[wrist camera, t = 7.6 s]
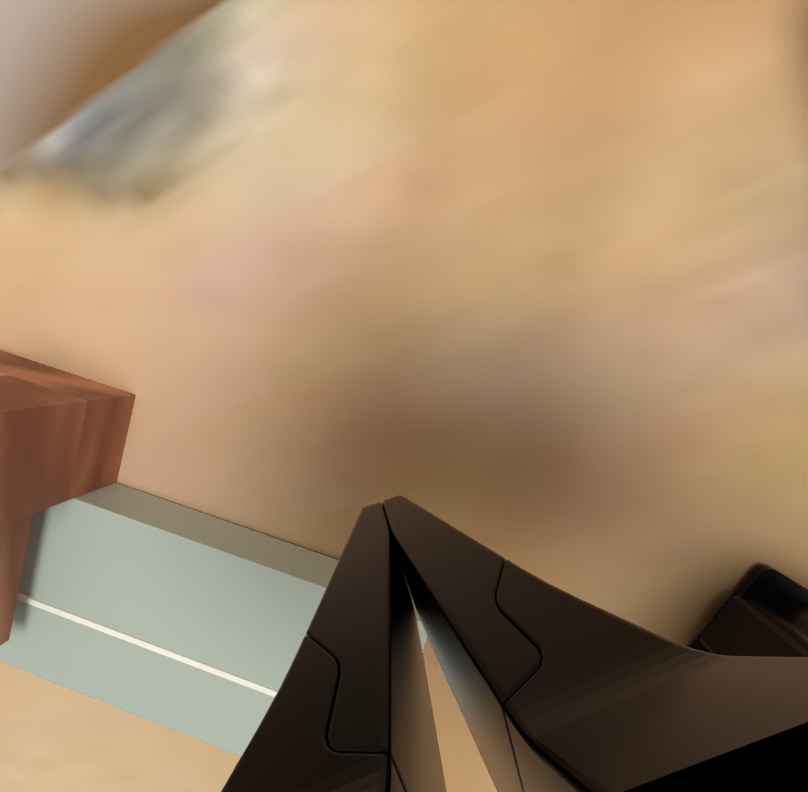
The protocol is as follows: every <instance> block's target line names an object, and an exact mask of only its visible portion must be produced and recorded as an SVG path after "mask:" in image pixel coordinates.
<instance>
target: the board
mask: <svg viewBox="0 0 808 792" xmlns="http://www.w3.org/2000/svg"><path fill="white" fill-rule="evenodd" d="M338 561H339V560H337V559H334V558H331V557H328V556H325V555H322V554H319V553H317V552H314V551H311V550H308V549H305V548H302V547H299V546H297V545H294V544H291V543H288V542H285V541H282V540H279V539H276V538H274V537H271V536H268V535H265V534H262V533H259V532H256V531H254V530H251V529H248V528H245V527H242V526H239V525H236V524H233V523H231V522H228V521H225V520H222V519H219V518H216V517H213V516H210V515H208V514H205V513H202V512H199V511H196V510H193V509H190V508H188V507H185V506H182V505H179V504H176V503H173V502H170V501H167V500H165V499H162V498H159V497H156V496H153V495H150V494H147V493H145V492H142V491H139V490H136V489H133V488H130V487H127V486H124V485H122V484H119V483H116V482H115V483H112V484H110V485H107V486H105V487H102V488H99V489H97V490H94V491H91V492H89V493H86V494H84V495H81V496H78V497H76V498H73V499H70V500H68V501H65V502H63V503H60V504H57V505H55V506H52V507H50V508H47V509H44V510H42V511H39V512H36V513H34V514H33V518H32V523H31V528H30V533H29V538H28V544H27V549H26V554H25V559H24V565H23V570H22V575H21V580H20V585H19V591H18V596H17V601H16V606H15V612H14V617H13V622H12V627H11V632H10V638H9V640H8V641H7V642H5V643H4V644H2V645H1V646H0V662H2V663H5V664H7V665H10V666H12V667H15V668H17V669H20V670H22V671H25V672H27V673H30V674H33V675H35V676H38V677H40V678H43V679H45V680H48V681H50V682H53V683H55V684H58V685H61V686H63V687H66V688H68V689H71V690H73V691H76V692H78V693H81V694H83V695H86V696H89V697H91V698H94V699H96V700H99V701H101V702H104V703H106V704H109V705H111V706H114V707H117V708H119V709H122V710H124V711H127V712H129V713H132V714H134V715H137V716H140V717H142V718H145V719H147V720H150V721H152V722H155V723H157V724H160V725H162V726H165V727H168V728H170V729H173V730H175V731H178V732H180V733H183V734H185V735H188V736H190V737H193V738H196V739H198V740H201V741H203V742H206V743H208V744H211V745H213V746H216V747H218V748H221V749H224V750H226V751H229V752H231V753H234V754H236V755H239V756H242V755H243V753H244V751H245V749H246V748H247V746H248V744H249V742H250V741H251V739H252V737H253V735H254V734H255V732H256V730H257V729H258V727H259V725H260V723H261V721H262V720H263V718H264V716H265V714H266V712H267V710H268V709H269V707H270V705H271V703H272V701H273V699H274V698H275V696H276V694H277V692H278V690H279V688H280V686H281V684H282V682H283V680H284V678H285V676H286V674H287V672H288V670H289V668H290V666H291V664H292V662H293V660H294V658H295V656H296V653H297V651H298V649H299V647H300V645H301V642H302V640H303V638H304V637H305V636H306V632H307V630H308V628H309V625H310V623H311V621H312V619H313V617H314V614H315V612H316V610H317V608H318V606H319V603H320V601H321V599H322V597H323V594H324V592H325V590H326V588H327V586H328V583H329V581H330V579H331V577H332V575H333V572H334V570H335V568H336V566H337V564H338ZM407 585H408V584H407ZM408 588H409V587H408ZM409 591H410V590H409ZM410 595H411V593H410ZM411 598H412V597H411ZM412 602H413V600H412ZM413 605H414V602H413ZM414 609H415V614H416V619H417V624H418V630H419V636H420V641H421V647H422V652H423V649H424V646H425V643H426V640H427V637H428V636H427V634H426V632H425V629H424V627H423V625H422V623H421V621H420V618H419V616H418V613H417V611H416V608H415V605H414Z"/></svg>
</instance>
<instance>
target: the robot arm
mask: <svg viewBox="0 0 808 792" xmlns="http://www.w3.org/2000/svg"><path fill="white" fill-rule="evenodd" d="M383 506H384V507H383ZM403 571H404V572H403ZM767 575H769V578H768V579H766V580H764V578H765V576H767ZM407 584H408V585H407ZM408 587H409V588H408ZM409 590H410V591H409ZM410 593H411V595H410ZM411 597H412V598H411ZM412 600H413V602H414V605H415V608H416V611H417V613H418V616H419V618H420V621H421V623H422V625H423V627H424V629H425V632H426V634H427V636H428V638H429V641H430V643H431V645H432V647H433V649H434V652H435V654H436V656H437V658H438V661H439V663H440V665H441V667H442V669H443V672H444V674H445V676H446V678H447V681H448V683H449V685H450V687H451V689H452V692H453V694H454V696H455V698H456V701H457V703H458V705H459V707H460V709H461V712H462V714H463V716H464V718H465V721H466V723H467V725H468V727H469V729H470V732H471V734H472V736H473V738H474V741H475V743H476V745H477V747H478V749H479V752H480V754H481V756H482V758H483V761H484V763H485V765H486V767H487V769H488V772H489V774H490V776H491V778H492V781H493V783H494V785H495V787H496V789H497V792H808V590H807V589H805V588H804V587H802V586H801V585H799V584H797V583H796V582H794V581H793V580H791V579H789V578H788V577H786V576H785V575H783V574H781V573H780V572H778V571H777V570H775V569H773V568H772V567H770V566H768V565H760V566H757V567H756V568H755V569H754V570H753V571H752V572H751V573H750V574H749V576H748V577H747V578H746V579H745V580H744V582H743V583H742V584H741V585H740V587H739V588H738V589H737V590H736V591H735V593H734V594H733V595H732V596H731V597H730V599H729V600H728V601H727V602H726V603H725V605H724V606H723V607H722V608H721V609H720V611H719V612H718V613H717V614H716V616H715V617H714V618H713V619H712V620H711V622H710V623H709V624H708V625H707V626H706V628H705V629H704V630H703V631H702V632H701V634H700V635H699V636H698V637H697V638H696V640H695V641H694V642H693V643H692V645H691V646H690V647H687V646H684V645H681V644H678V643H675V642H673V641H671V640H668V639H666V638H663V637H661V636H659V635H657V634H655V633H652V632H650V631H648V630H646V629H644V628H642V627H639V626H637V625H635V624H633V623H631V622H629V621H626V620H624V619H622V618H620V617H618V616H616V615H613V614H611V613H609V612H607V611H605V610H603V609H600V608H598V607H596V606H594V605H592V604H590V603H587V602H585V601H583V600H581V599H579V598H577V597H575V596H573V595H571V594H569V593H567V592H565V591H562V590H560V589H558V588H556V587H554V586H552V585H550V584H548V583H546V582H545V581H543V580H541V579H539V578H538V577H536V576H534V575H532V574H531V573H529V572H527V571H525V570H523V569H522V568H520V567H519V566H517V565H515V564H514V563H512V562H510V561H509V560H506V559H505V558H503V557H502V556H500V555H499V554H497V553H495V552H494V551H492V550H490V549H489V548H487V547H485V546H484V545H482V544H480V543H479V542H477V541H475V540H474V539H472V538H471V537H469V536H467V535H466V534H464V533H462V532H461V531H459V530H457V529H456V528H454V527H452V526H451V525H449V524H448V523H446V522H444V521H443V520H441V519H439V518H438V517H436V516H434V515H433V514H431V513H429V512H428V511H426V510H425V509H423V508H421V507H420V506H418V505H416V504H415V503H413V502H411V501H410V500H408V499H406V498H405V497H403V496H400V495H399V496H396V497H393V498H390V499H387V500H385V501H384V502H383V505H382V503H376V504H373V505H370V506H367V507H364V508H363V509H362V511H361V513H360V515H359V517H358V520H357V522H356V524H355V526H354V528H353V531H352V533H351V535H350V537H349V539H348V542H347V544H346V546H345V548H344V550H343V553H342V555H341V557H340V559H339V561H338V564H337V566H336V568H335V570H334V572H333V575H332V577H331V579H330V581H329V583H328V586H327V588H326V590H325V592H324V594H323V597H322V599H321V601H320V603H319V606H318V608H317V610H316V612H315V614H314V617H313V619H312V621H311V623H310V625H309V628H308V630H307V632H306V636H305V637H304V638H303V640H302V642H301V645H300V647H299V649H298V651H297V653H296V656H295V658H294V660H293V662H292V664H291V666H290V668H289V670H288V672H287V674H286V676H285V678H284V680H283V682H282V684H281V686H280V688H279V690H278V692H277V694H276V696H275V698H274V699H273V701H272V703H271V705H270V707H269V709H268V710H267V712H266V714H265V716H264V718H263V720H262V721H261V723H260V725H259V727H258V729H257V730H256V732H255V734H254V735H253V737H252V739H251V741H250V742H249V744H248V746H247V748H246V749H245V751H244V753H243V755H242V756H241V758H240V760H239V762H238V763H237V765H236V767H235V769H234V770H233V772H232V774H231V776H230V777H229V779H228V781H227V782H226V784H225V786H224V788H223V789H222V791H221V792H446V786H445V781H444V775H443V769H442V763H441V757H440V752H439V746H438V740H437V734H436V728H435V723H434V717H433V711H432V705H431V699H430V694H429V688H428V682H427V676H426V670H425V665H424V659H423V653H422V647H421V641H420V636H419V630H418V624H417V619H416V614H415V609H414V605H413V602H412Z"/></svg>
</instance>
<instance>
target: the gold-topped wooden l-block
mask: <svg viewBox="0 0 808 792" xmlns="http://www.w3.org/2000/svg"><path fill="white" fill-rule="evenodd" d="M134 400H135V395H134V394H131V393H128V392H125V391H122V390H119V389H116V388H113V387H110V386H107V385H104V384H101V383H98V382H95V381H92V380H89V379H86V378H83V377H80V376H77V375H74V374H71V373H68V372H64V371H61V370H58V369H55V368H52V367H49V366H46V365H43V364H40V363H37V362H34V361H31V360H28V359H25V358H22V357H19V356H16V355H13V354H10V353H7V352H4V351H1V350H0V646H1V645H2V644H4V643H5V642H7V641H8V640H9V638H10V632H11V627H12V622H13V617H14V612H15V606H16V601H17V596H18V591H19V585H20V580H21V575H22V570H23V565H24V559H25V554H26V549H27V544H28V538H29V533H30V528H31V523H32V518H33V514H34V513H36V512H39V511H42V510H44V509H47V508H50V507H52V506H55V505H57V504H60V503H63V502H65V501H68V500H70V499H73V498H76V497H78V496H81V495H84V494H86V493H89V492H91V491H94V490H97V489H99V488H102V487H105V486H107V485H110V484H112V483H115V482H117V478H118V474H119V469H120V464H121V460H122V455H123V450H124V446H125V441H126V437H127V432H128V427H129V423H130V418H131V414H132V409H133V404H134Z"/></svg>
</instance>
